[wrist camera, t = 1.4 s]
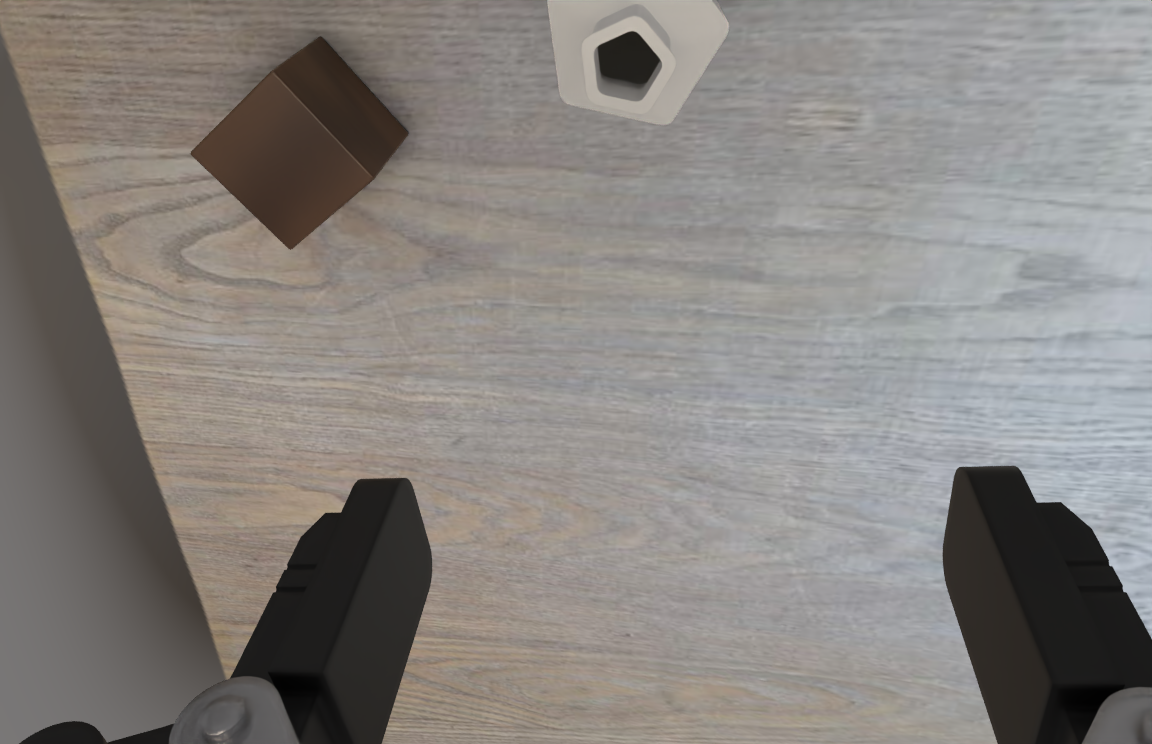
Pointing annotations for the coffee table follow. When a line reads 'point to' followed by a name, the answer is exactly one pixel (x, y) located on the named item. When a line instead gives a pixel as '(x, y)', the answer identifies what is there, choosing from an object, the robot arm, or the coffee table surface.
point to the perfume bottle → (633, 53)
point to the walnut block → (301, 143)
